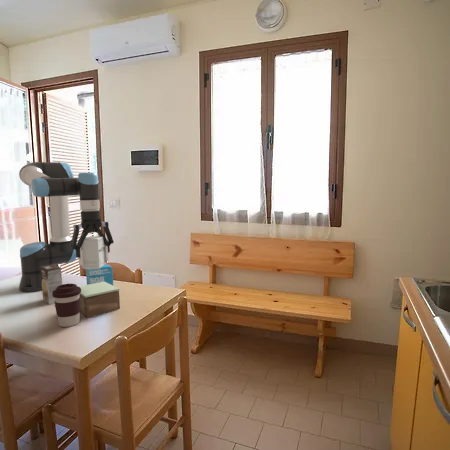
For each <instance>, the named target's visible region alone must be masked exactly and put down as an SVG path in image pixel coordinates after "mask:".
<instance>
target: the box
mask: <svg viewBox="0 0 450 450" xmlns="http://www.w3.org/2000/svg"><path fill="white" fill-rule="evenodd" d="M120 309H121V301H120V290H119V291H114V292H110V293H105V294H101V295H96V296H91V297H87V298H85V297H83V296H81V295H80V315H82V316H84V317H85V318H87V319H90V318H93V317H96V316H99V315H102V314H103V315H104V314H107V313H109V312H110V313H111V312H113V311H114V312H115V311H117V310H120Z"/></svg>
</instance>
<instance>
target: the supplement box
mask: <svg viewBox="0 0 450 450" xmlns="http://www.w3.org/2000/svg"><path fill="white" fill-rule="evenodd" d="M80 249H81V250H82V253H83V266H81V267H82V269H83V270H86V269H99V268H101V267H102V266H104V265H107V264H106V262H107V261H105V244H104V240H103V237H100V236H99V235H96V236H95V235H94V236H86V238H85V239H84V242H83V244H82V246H81V248H80Z"/></svg>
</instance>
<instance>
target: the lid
mask: <svg viewBox="0 0 450 450" xmlns="http://www.w3.org/2000/svg"><path fill="white" fill-rule="evenodd" d="M77 286H78V287H80V288H81V293H80V295H81V296H83V297H85V298H87V297H91V296H96V295H101V294H105V293H110V292H114V291H119V292H120V288H119V287H117V286H115V285H114V284H113V285H111V284H109V283H107V282H99V283H94V284H88V285H87V284H84V285H77Z"/></svg>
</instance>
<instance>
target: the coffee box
mask: <svg viewBox="0 0 450 450" xmlns="http://www.w3.org/2000/svg"><path fill="white" fill-rule="evenodd" d="M40 272H41V283H42V290H41V291H42V292H41V293H42V300H43V301H44V302H46V303H47V304H48V305H52V304H54V305H55V298H54V297H53V296H52V292H53V291H54V290H56V288H57V287H58V286H60V285H63V277H62V267H60V266H59V265H58V264H57V265H55V264H52V265H47V266H42V267H40Z"/></svg>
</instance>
